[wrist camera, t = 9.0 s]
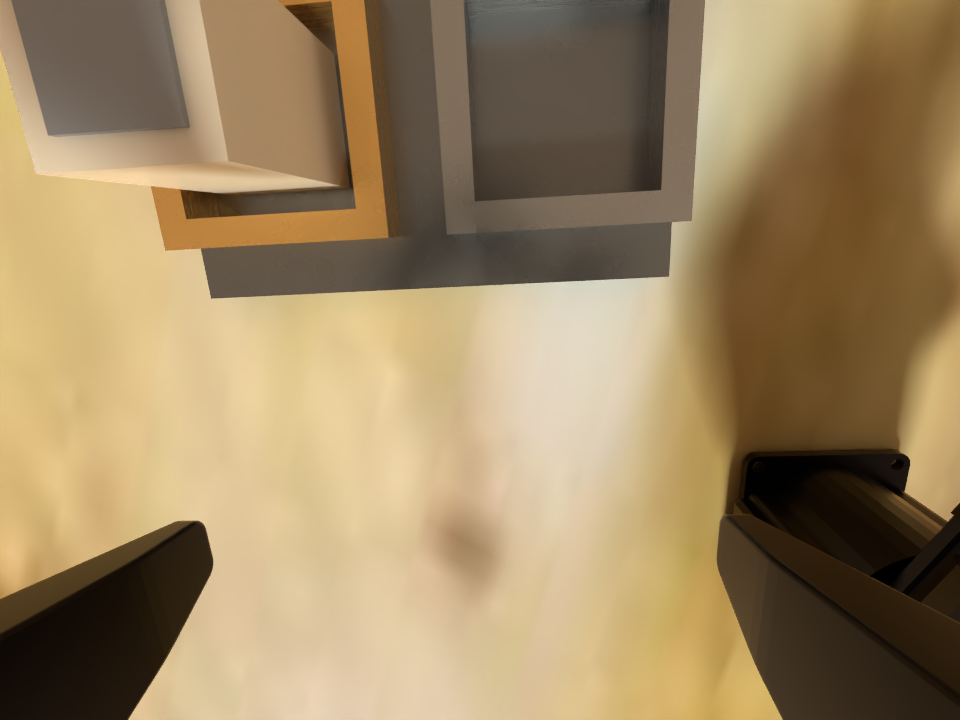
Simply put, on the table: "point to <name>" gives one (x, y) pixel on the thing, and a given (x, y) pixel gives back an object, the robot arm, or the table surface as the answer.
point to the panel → (475, 151)
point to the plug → (175, 94)
